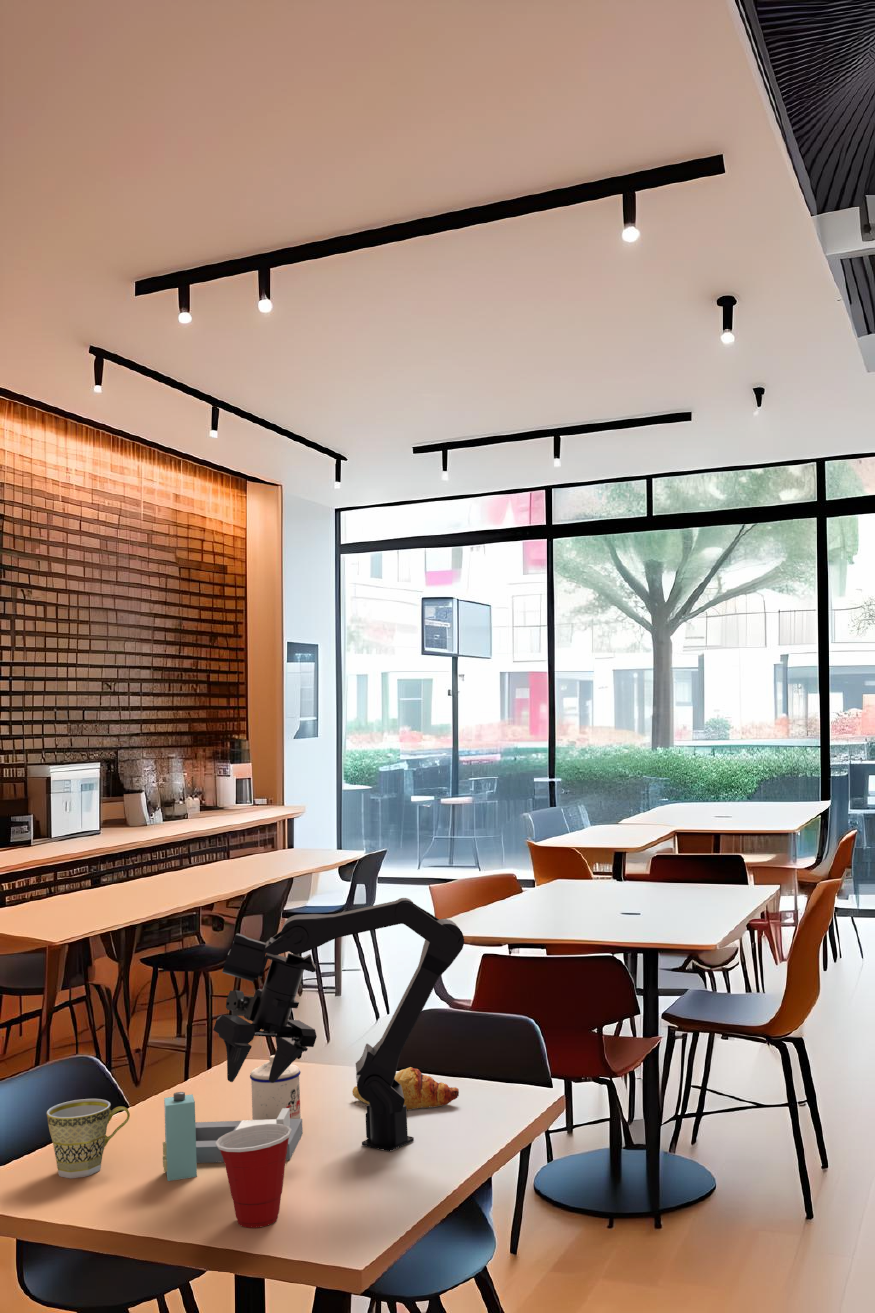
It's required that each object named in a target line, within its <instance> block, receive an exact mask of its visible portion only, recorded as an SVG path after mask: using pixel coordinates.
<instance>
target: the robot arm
mask: <svg viewBox="0 0 875 1313" xmlns="http://www.w3.org/2000/svg"><path fill="white" fill-rule="evenodd" d="M396 925H405V926H406V927H407V928H409V929H410V930H411V931H413V932H414V933H416V934H417V935H419V936H420V937H421V938H423V939H424V943H423V945H422V950H421V955H420V958H419V961H418V966H417V967H416V969H415V972H414V974H413V976H412V977H411V979H410V982H409V983H408V985H407V987H406V990H405V991H404V993H403V995H402V997H401V998H400V1001H399V1003H398V1005H397V1007H396V1009H395V1010H394V1013H393V1015H392V1016H391V1018H390V1021H389V1023H388V1025H387V1027H386V1028H385V1031H384V1032H383V1035H382V1036H381V1038H380V1039H379V1041H377V1043H376V1044H375V1045H374V1046H371V1045H370V1044H369V1043H365V1045H364V1049H363V1052H362V1055H361V1056H360V1058H359V1059H358V1060H357V1061H356V1062H355V1070H356V1071H355V1072H356V1073H355V1079H356V1086H357V1089H358V1092H359V1094H360V1096H361V1097H362V1098H363V1099H364V1100H366V1101H368V1102H369V1103H370V1104H366V1113H365V1114H364V1115H365V1133H366V1134H365V1135H366V1139H365V1140H363V1141H361V1146H364V1147H368V1148H372V1149H377V1150H382V1151H385V1152H393V1151H395V1150H397V1149H398V1148H399V1149H400V1148H401V1147H403V1146H405V1145H407V1144H409V1143H412V1142H414V1140H415V1137H413V1136H410V1135H408V1114H407V1112H408V1110H407V1109H406V1105H404V1102H405V1099H404V1095H403V1091H402V1086H401V1084H399V1083H398V1082H397V1081H396V1080H395V1079H394V1078H395V1075H396V1074H397V1072H398V1071H397V1070H398V1066H399V1062H400V1057H401V1054H402V1051H403V1049H404V1048H405V1046H406V1043H407V1041H408V1039H409V1038H410V1036H411V1033H412V1032H413V1030H414V1028H415V1025H416V1023H417V1022H418V1019H419V1018H420V1017H421V1016H420V1015H421V1013H422V1012H423V1010H424V1008H425V1006H426V1004H427V1002H428V1000H429V999H430V998H429V997H430V996H431V994H432V992H433V991H434V988H435V985H436V984H437V982H438V981H439V979H440V977H441V976H442V975H443V974H444V973H445V972H446V971H447V970H448V968H449V967H450V966H451V965H452V964H453V963H454V961H455V960H456V958H457V957H458V956H459V954H460V953H461V952H462V950H463V949H464V945H465V937H464V933H463V932H462V930H461V929H460V927H459V926H458V925H457V924H456V923H455V922H454V921H453V920H451V919H448V918H440V919H439V918H438V917H436V916H434V915H433V914H432V913H430V912H428V911H427V910H425V909H423V908H422V907H420V906H419V905H417V904H415V902H413V901H412V900H411V899H410V898H407V897H400V898H398V899H397V900H394V901H389V902H383V903H379V904H375V905H370V906H365V907H362V908H357V909H352V910H351V909H350V910H348V911H347V910H346V911H342V912H338V913H333V914H330V913H329V914H325V913H324V914H321V913H311V914H310V913H309V914H295V915H292V916H290V917H288V918H287V919H286V920H285V922H284V923H283V924H282V928H281V930H280V931H279V932H278V933H276V934H275V935H274V936H272V937H270V938H269V939H268V940H267V941H266V942H264V941H260V940H257V939H253V938H250V937H247V936H246V935H244V934H241V933H238V932H237V933H236V934H235V936H234V939H233V942H232V944H231V947H230V949H229V951H228V953H227V956H226V959H225V962H224V964H223V967H222V972H221V973H223V974H225V975H228V976H232V977H235V978H239V979H242V980H245V981H249V982H252V983H255V980H259V978H260V979H262V978H263V976H264V973H265V970H266V966H267V962H268V961H269V960H271V962H270V965H269V969H268V972H267V975H266V978H265V980H264V983H263V987H262V989H261V988H259V989H258V988H257V989H256V991H255V992H254V994H253V996H245V994H244V991H242V990H230V991H229V993H228V995H227V997H226V1001H225V1009H226V1010H227V1011H231V1014H221V1015H220V1016H217V1017H216V1018H217V1019H216V1020H215V1023H214V1027H213V1031H214V1032H215V1033H217V1034H218V1035H217V1036H218V1037H219V1038H221V1039H222V1040H223V1042H224V1044H225V1050H226V1067H227V1068H226V1069H227V1070H226V1072H227V1073H226V1074H227V1079H226V1080H227V1081H228V1082H230V1083H233V1082H234V1081H235V1079H236V1077H237V1076H238V1075H239V1073H240V1071H241V1069H242V1067H243V1064H244V1062H245V1060H246V1059H247V1057H248V1055H249V1053H250V1052H251V1049H252V1045H251V1044H249V1043H251V1042H252V1041H253V1040H254V1038H255V1037H267V1038H268V1037H269V1038H275V1044H276V1050H275V1053H274V1055H275V1056H274V1060H273V1063H272V1067H271V1070H270V1075H269V1081H270V1082H271V1083H274V1082H275V1081H276V1080H277V1079H278V1078H279V1077H280V1075H281V1074H282V1073H283V1072H284V1071H285V1070H286V1069H287V1068H288V1067H289V1066H290V1064H293V1063H294V1061H296V1060H297V1059H298V1058H299V1057H301V1056H300V1055H302V1054H303V1053H304V1052H307V1051H308V1048H314V1046H315V1043H316V1040H317V1033H316V1032H317V1031H316V1029H315V1028H313V1027H312V1026H309V1025H308V1024H306V1023H304V1022H302V1021H300V1019H299V1020H298V1019H290V1016H291V1012H292V1009H298V1008H299V1004H300V1002H298V1001H297V1000H296V997H297V994H298V991H299V987H300V984H301V981H302V978H303V974H304V972H305V971H307V972H311V973H315V972H316V970H317V966H316V963H314V961H313V957H312V954H310V953H309V954H307V955H306V956H300V955H302V954H304V953H306V952H309V951H313V949H316V948H318V947H321V946H323V945H325V944H327V943H328V942H331V941H333V940H336V939H338V938H342V937H346V936H352V935H356V934H361V933H366V932H369V931H374V930H378V929H383V928H387V927H391V926H396ZM285 953H287V955H286V956H282V955H281V954H285ZM299 954H300V955H299ZM242 1017H244V1018H245V1019H244V1018H242ZM247 1020H248V1021H247ZM249 1021H251V1022H249Z"/></svg>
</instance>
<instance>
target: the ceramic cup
mask: <svg viewBox="0 0 875 1313" xmlns="http://www.w3.org/2000/svg"><path fill="white" fill-rule="evenodd" d="M111 1105H112V1104H111V1102H110V1101H108V1100H106V1099H101V1098H85V1099H83V1098H82V1099H74V1100H70V1101H66V1102H62V1103H59V1104H55V1105H54V1106H51V1107H50V1108H49V1109H48V1110H47V1111H46V1119H47V1125H48V1130H49V1134H50V1137H51V1141H52V1145H53V1146H52V1147H53V1151H54V1156H55V1161H56V1162H55V1163H56V1168H57V1173H58V1176H59V1177H62V1178H65V1179H77V1178H78V1179H79V1178H85V1177H89V1176H91V1175H94V1174H96V1173H98V1172H100V1171H101V1170H102V1169H101V1168H102V1161H103V1154H104V1151H105V1147H107V1145H108V1142H109V1141H110V1140H111V1139H112V1138H113V1137H114V1136H115V1135H116V1133H117V1132H118V1131H119V1130H121V1129H122V1127H124V1126H125V1125H126V1124H127V1123H128V1122H129V1119H130V1111H129V1109H128V1108H127V1107H125V1106H116V1107H114V1108H113V1109H112V1110H111ZM119 1111H125V1112H126V1114H127V1116H126V1119H125V1120H124V1121H123V1122H122V1123H121V1124H120V1125H118V1127H116V1128H115V1129H114V1131H113V1132H112V1133H111V1134H110V1135H107V1130H108V1125H109V1123H110V1122H111V1120H112V1118H113V1117H114V1115H115V1114H116V1113H118V1112H119Z"/></svg>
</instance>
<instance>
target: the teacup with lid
mask: <svg viewBox="0 0 875 1313" xmlns="http://www.w3.org/2000/svg"><path fill="white" fill-rule="evenodd" d="M274 1056H275V1054H273V1055H270V1056H269V1060H268V1061H266V1062H264V1063H263V1064H261V1065H260V1066H257V1067H256V1068H253V1069H252V1070H251V1072H250V1075H249V1078H250V1080H251V1083H250V1085H251V1108H252V1109H251V1110H252V1111H251V1112H252V1115H251V1116H252V1120H267V1119H277V1117H278V1116H279V1114H280V1112H281V1110H282V1109H283V1108H290V1119H302V1117H301V1116H302V1115H301V1114H302V1113H301V1086H300V1084H301V1083H300V1075H301V1070H300V1067H299V1066H298V1065H296V1064H293V1063H291V1064H290V1066H289V1067H288V1068H287V1069H286V1070H285V1071H284V1072H283V1073H282V1074H281V1075H280V1077H279V1078H278V1079H277V1080H276V1081H275V1082H274V1083H271V1082H270V1081H269V1075H270V1070H271V1067H272V1063H273V1060H274Z"/></svg>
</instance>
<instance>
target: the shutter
mask: <svg viewBox="0 0 875 1313" xmlns="http://www.w3.org/2000/svg"><path fill="white" fill-rule="evenodd" d="M240 1121H241V1123H240V1124H239V1126H238V1127H237V1129H241V1128H245V1127H249V1126H254V1125H262V1124H282V1125H286V1126H290V1108H283V1109H282V1110H281V1112H280V1114H279V1116H278V1117H277V1119H267V1120H253V1119H248V1120H247V1119H244V1120H243V1119H242V1120H240ZM237 1129H236V1130H237Z"/></svg>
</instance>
